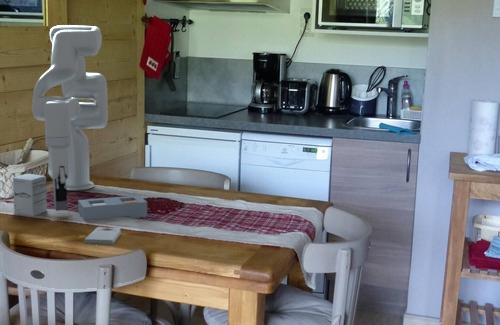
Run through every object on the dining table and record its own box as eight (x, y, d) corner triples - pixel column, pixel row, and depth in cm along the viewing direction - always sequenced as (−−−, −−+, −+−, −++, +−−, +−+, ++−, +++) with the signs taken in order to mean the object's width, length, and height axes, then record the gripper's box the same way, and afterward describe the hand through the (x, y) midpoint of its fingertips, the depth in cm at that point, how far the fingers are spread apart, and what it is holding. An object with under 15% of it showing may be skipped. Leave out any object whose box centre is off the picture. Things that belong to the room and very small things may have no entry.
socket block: (78, 215, 212) (78, 199, 211) (139, 209, 221) (139, 194, 220) (83, 222, 204) (83, 206, 203) (147, 217, 213) (147, 201, 212)
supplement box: (13, 216, 209) (11, 177, 207) (28, 210, 216) (27, 172, 213) (33, 219, 207) (31, 179, 204) (47, 213, 213) (46, 175, 211)
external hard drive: (84, 244, 186) (96, 231, 198) (113, 245, 186) (123, 232, 198) (84, 238, 186) (96, 226, 198) (113, 240, 186) (123, 227, 198)
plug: (54, 207, 208) (53, 173, 206) (65, 206, 210) (64, 172, 207) (55, 210, 205) (54, 176, 203) (67, 209, 207) (66, 175, 204)
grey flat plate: (47, 217, 209) (47, 214, 209) (69, 215, 212) (69, 212, 212) (50, 224, 202) (50, 220, 202) (74, 221, 205) (74, 218, 205)
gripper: (42, 136, 208) (44, 193, 213) (49, 147, 194) (51, 207, 198) (66, 135, 211) (68, 191, 216) (75, 145, 197) (77, 205, 201)
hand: (60, 198), depth 207 cm, fingers closed on plug, 3 cm apart
